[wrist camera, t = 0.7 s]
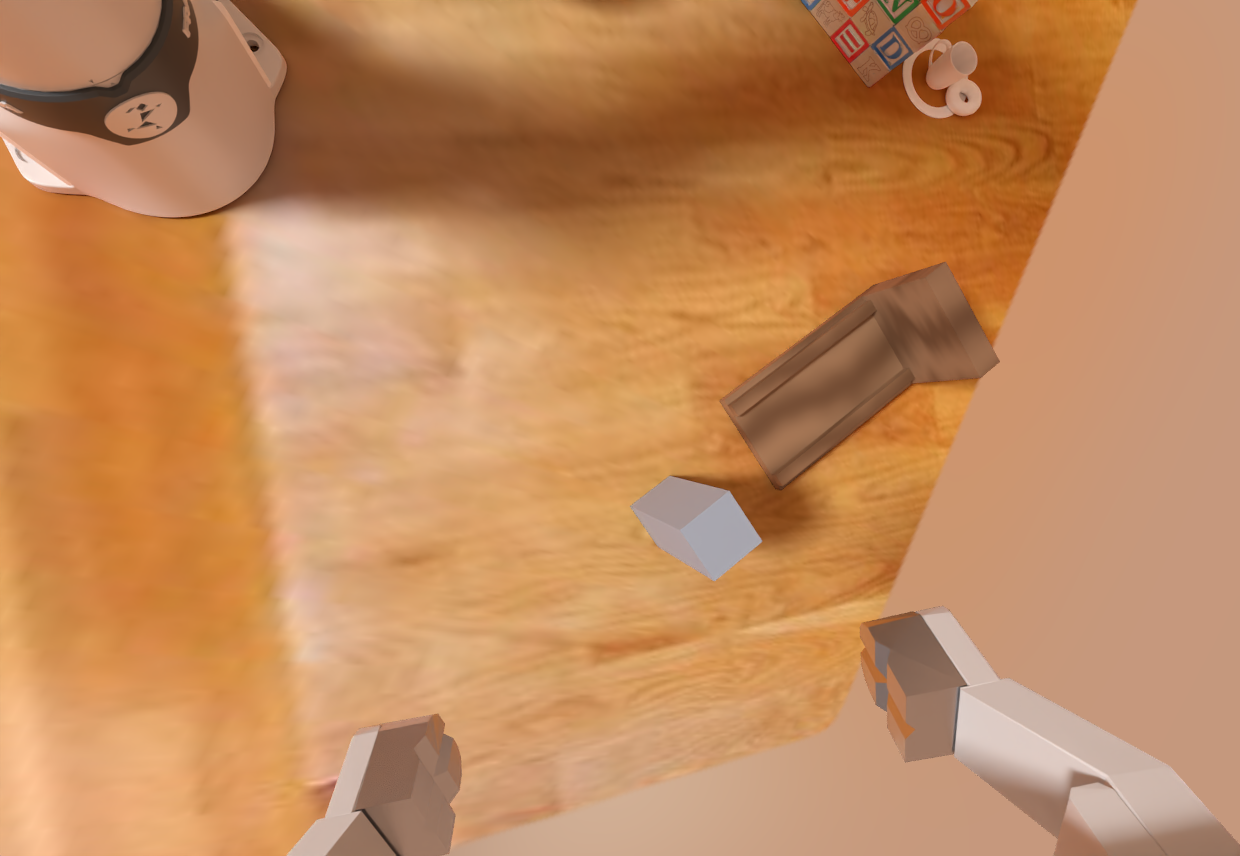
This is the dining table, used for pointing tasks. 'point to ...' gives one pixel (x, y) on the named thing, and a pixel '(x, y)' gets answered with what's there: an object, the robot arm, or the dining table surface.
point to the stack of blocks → (883, 29)
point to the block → (697, 525)
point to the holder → (857, 369)
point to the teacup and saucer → (946, 78)
